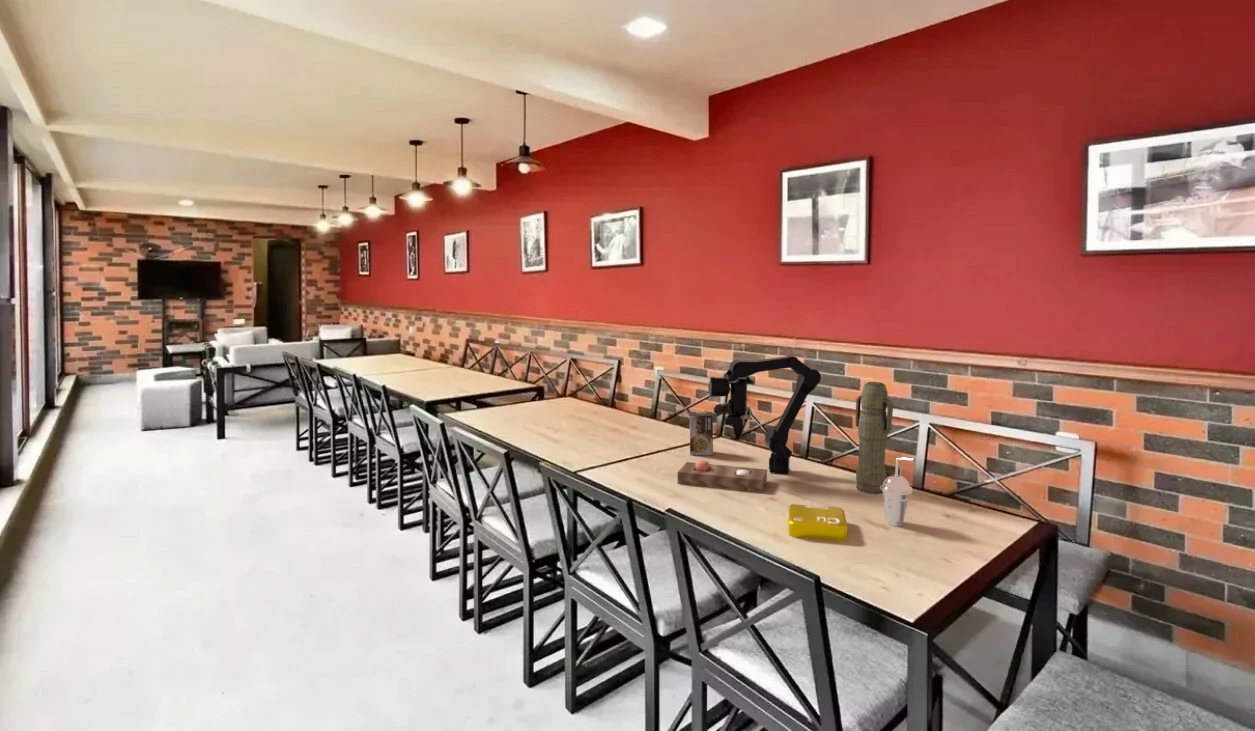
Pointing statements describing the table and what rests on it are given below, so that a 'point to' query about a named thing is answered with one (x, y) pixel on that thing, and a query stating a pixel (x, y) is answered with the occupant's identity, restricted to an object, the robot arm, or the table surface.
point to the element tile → (817, 522)
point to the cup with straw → (896, 496)
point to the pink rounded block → (702, 466)
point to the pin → (743, 472)
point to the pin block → (723, 477)
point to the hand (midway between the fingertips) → (738, 439)
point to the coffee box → (701, 433)
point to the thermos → (872, 436)
